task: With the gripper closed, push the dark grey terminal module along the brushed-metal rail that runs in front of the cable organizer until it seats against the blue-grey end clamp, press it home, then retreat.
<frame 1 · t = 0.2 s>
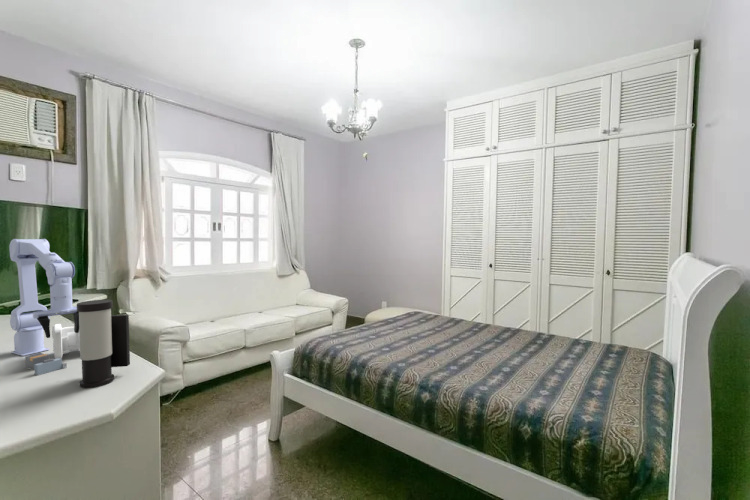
hand: (62, 334, 123), 10 cm above the table, tool pointing down, fingers open, 7 cm apart
module: (37, 367, 119), on the table
rail: (51, 364, 121), on the table
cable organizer: (72, 354, 132), on the table
end clamp: (48, 371, 115), on the table
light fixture: (100, 381, 107), on the table
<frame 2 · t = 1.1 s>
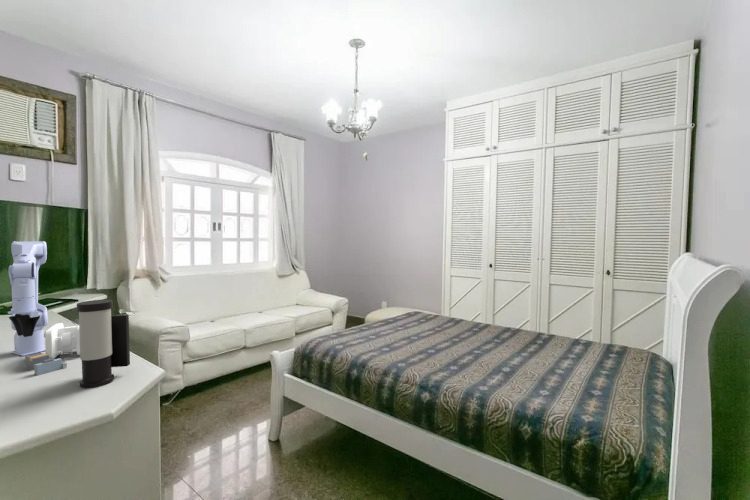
hand: (25, 335, 122), 10 cm above the table, tool pointing down, fingers open, 3 cm apart
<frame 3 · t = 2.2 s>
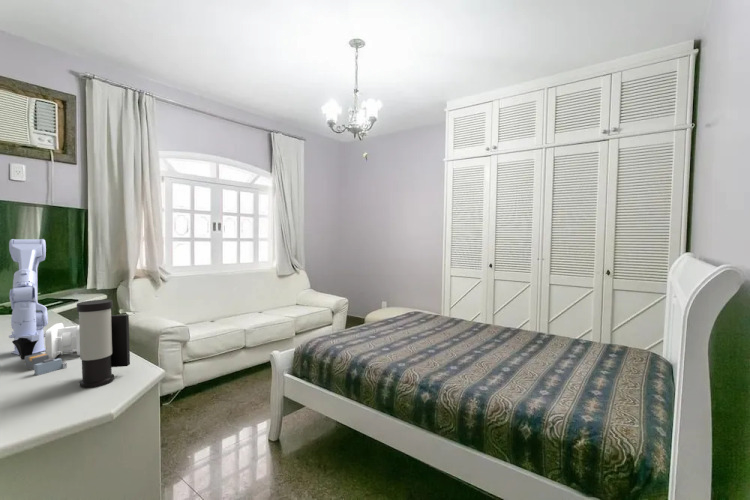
hand: (26, 358, 122), 2 cm above the table, tool pointing down, fingers closed
nothing on the table moved.
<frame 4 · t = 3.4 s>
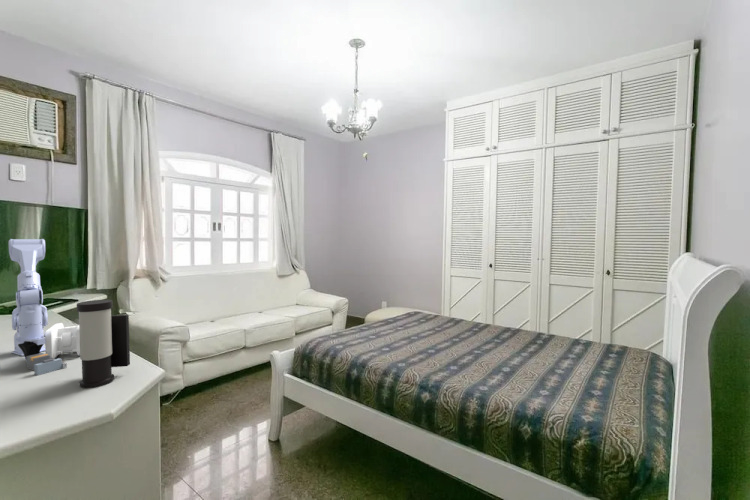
hand: (32, 362, 120), 1 cm above the table, tool pointing down, fingers closed
module: (38, 367, 118), on the table, touching gripper
everything else where it was.
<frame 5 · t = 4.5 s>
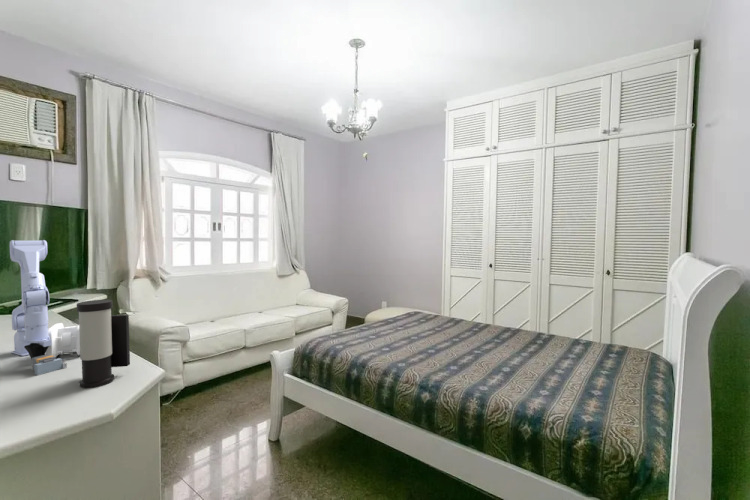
hand: (38, 364, 118), 1 cm above the table, tool pointing down, fingers closed
module: (44, 369, 117), on the table, touching end clamp, gripper
everything else where it was.
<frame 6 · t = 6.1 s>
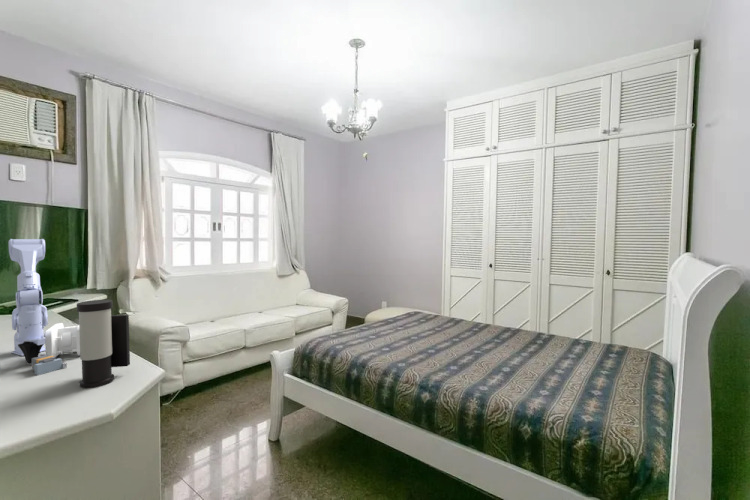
hand: (31, 362, 120), 1 cm above the table, tool pointing down, fingers closed
module: (44, 369, 117), on the table
everything else where it was.
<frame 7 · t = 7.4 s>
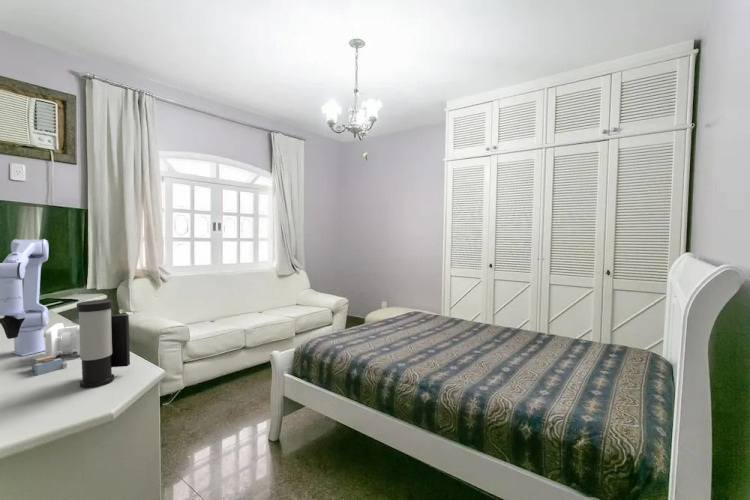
hand: (12, 337, 117), 10 cm above the table, tool pointing down, fingers closed
nothing on the table moved.
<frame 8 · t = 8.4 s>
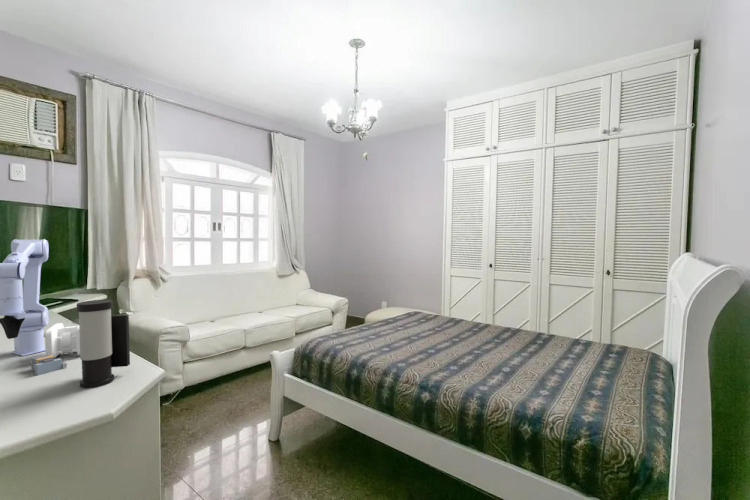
hand: (12, 337, 117), 10 cm above the table, tool pointing down, fingers closed
nothing on the table moved.
at the end: module 0.4 cm from the target spot, on the table; module tilted 0° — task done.
